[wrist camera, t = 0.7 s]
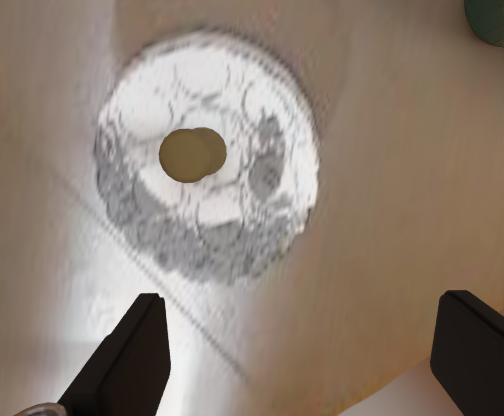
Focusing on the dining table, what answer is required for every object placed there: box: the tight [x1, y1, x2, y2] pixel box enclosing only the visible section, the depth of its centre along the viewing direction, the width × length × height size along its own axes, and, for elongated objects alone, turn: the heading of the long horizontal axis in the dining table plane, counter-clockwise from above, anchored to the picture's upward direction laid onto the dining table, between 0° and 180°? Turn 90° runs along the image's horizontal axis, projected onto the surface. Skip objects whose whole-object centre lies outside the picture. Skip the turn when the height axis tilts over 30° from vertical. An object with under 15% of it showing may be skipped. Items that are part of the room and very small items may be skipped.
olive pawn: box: [159, 128, 227, 183], centre depth 32 cm, size 6×6×11 cm
